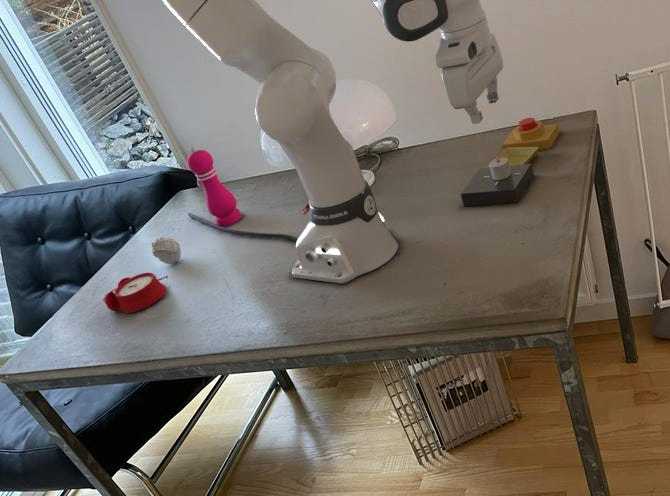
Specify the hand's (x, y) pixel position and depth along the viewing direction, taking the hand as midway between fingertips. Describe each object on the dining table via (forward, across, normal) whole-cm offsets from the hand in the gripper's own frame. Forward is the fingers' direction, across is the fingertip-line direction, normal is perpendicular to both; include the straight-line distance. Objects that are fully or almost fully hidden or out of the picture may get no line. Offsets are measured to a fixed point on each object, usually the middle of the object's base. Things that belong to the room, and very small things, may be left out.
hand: (486, 111), depth 146 cm
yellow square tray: (+17, -11, -2) cm, 20 cm away
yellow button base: (+17, -21, -1) cm, 27 cm away
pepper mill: (+16, +4, -73) cm, 75 cm away
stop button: (+13, -21, -1) cm, 25 cm away
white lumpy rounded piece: (+16, +23, -76) cm, 81 cm away
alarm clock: (+16, +38, -74) cm, 85 cm away
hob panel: (+17, +1, -1) cm, 17 cm away
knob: (+14, 0, 0) cm, 14 cm away
